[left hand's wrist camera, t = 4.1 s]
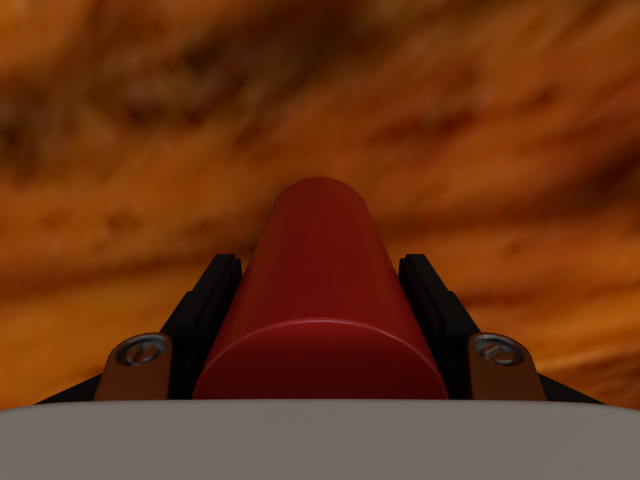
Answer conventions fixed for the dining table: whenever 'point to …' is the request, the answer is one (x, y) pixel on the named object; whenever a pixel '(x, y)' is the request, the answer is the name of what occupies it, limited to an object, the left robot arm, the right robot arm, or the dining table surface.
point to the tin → (320, 311)
